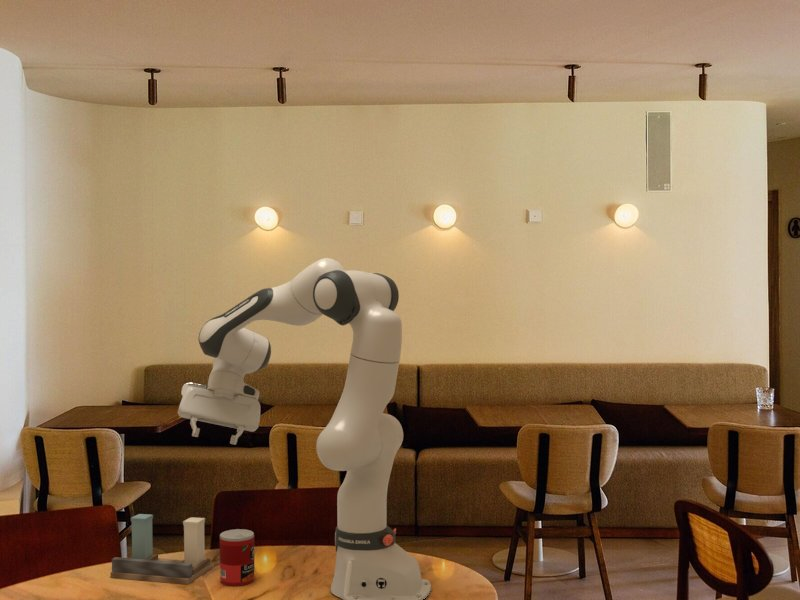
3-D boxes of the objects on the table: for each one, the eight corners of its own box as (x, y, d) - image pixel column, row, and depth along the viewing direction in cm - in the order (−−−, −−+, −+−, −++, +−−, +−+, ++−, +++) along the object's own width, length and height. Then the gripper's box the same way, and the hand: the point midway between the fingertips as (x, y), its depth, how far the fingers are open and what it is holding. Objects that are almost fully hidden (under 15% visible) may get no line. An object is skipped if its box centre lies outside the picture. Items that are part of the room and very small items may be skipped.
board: (211, 567, 207) (211, 550, 207) (187, 584, 195) (187, 566, 195) (138, 561, 212) (138, 544, 212) (110, 577, 200) (110, 560, 200)
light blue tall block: (153, 558, 209) (153, 514, 209) (145, 563, 206) (144, 518, 206) (139, 557, 210) (139, 513, 210) (131, 562, 207) (130, 517, 206)
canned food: (247, 587, 193) (246, 539, 193) (214, 585, 195) (213, 537, 194) (259, 576, 201) (259, 529, 200) (227, 574, 202) (227, 528, 202)
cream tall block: (205, 562, 206) (205, 518, 206) (198, 567, 202) (197, 522, 202) (191, 561, 207) (190, 517, 207) (183, 566, 203) (183, 521, 203)
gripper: (185, 375, 212) (173, 426, 204) (265, 392, 217) (256, 443, 209) (182, 385, 217) (170, 435, 209) (260, 402, 222) (251, 452, 214)
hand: (214, 439), depth 209 cm, fingers open, 8 cm apart
